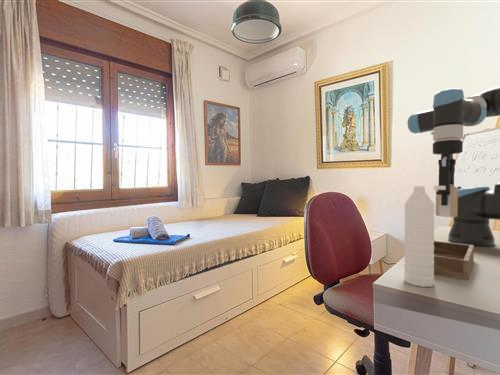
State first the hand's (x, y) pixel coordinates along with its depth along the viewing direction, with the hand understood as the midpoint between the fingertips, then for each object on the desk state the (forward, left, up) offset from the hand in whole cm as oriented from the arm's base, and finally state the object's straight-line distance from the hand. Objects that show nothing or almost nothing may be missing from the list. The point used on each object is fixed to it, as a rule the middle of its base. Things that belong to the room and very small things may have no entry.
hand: (446, 215), depth 84 cm
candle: (0, 0, 0) cm, 0 cm away
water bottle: (+23, -4, -16) cm, 28 cm away
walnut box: (+1, 0, -15) cm, 15 cm away
